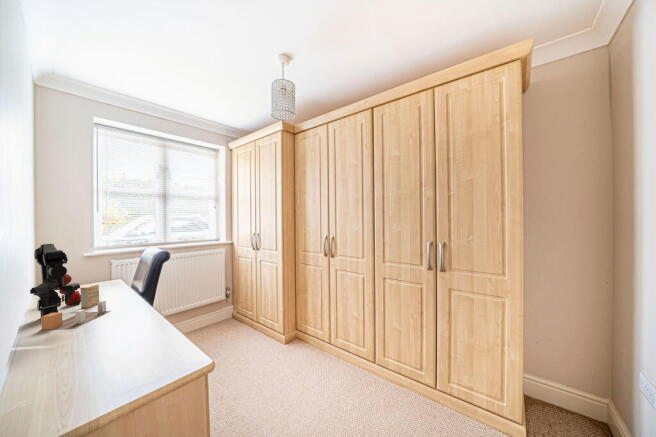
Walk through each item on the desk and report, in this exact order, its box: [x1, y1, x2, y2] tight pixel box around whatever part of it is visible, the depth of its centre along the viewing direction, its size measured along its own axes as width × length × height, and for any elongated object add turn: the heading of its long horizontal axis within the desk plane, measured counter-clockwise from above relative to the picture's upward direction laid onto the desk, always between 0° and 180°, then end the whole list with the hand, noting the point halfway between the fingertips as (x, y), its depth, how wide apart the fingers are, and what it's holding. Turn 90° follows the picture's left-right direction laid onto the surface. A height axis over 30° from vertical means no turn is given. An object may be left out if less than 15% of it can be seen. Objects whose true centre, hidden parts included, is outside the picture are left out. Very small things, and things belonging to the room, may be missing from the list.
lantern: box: [58, 273, 73, 303], centre depth 177 cm, size 10×10×30 cm
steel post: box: [97, 300, 107, 313], centre depth 151 cm, size 3×3×8 cm
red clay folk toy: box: [65, 282, 81, 307], centre depth 170 cm, size 8×7×15 cm
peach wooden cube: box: [40, 311, 63, 331], centre depth 132 cm, size 5×5×7 cm
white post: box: [75, 308, 86, 324], centre depth 137 cm, size 3×3×8 cm
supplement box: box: [79, 283, 100, 309], centre depth 167 cm, size 8×5×13 cm, turn 179°
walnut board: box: [39, 310, 112, 332], centre depth 141 cm, size 17×24×1 cm
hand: (56, 304), depth 133 cm, fingers open, 9 cm apart
